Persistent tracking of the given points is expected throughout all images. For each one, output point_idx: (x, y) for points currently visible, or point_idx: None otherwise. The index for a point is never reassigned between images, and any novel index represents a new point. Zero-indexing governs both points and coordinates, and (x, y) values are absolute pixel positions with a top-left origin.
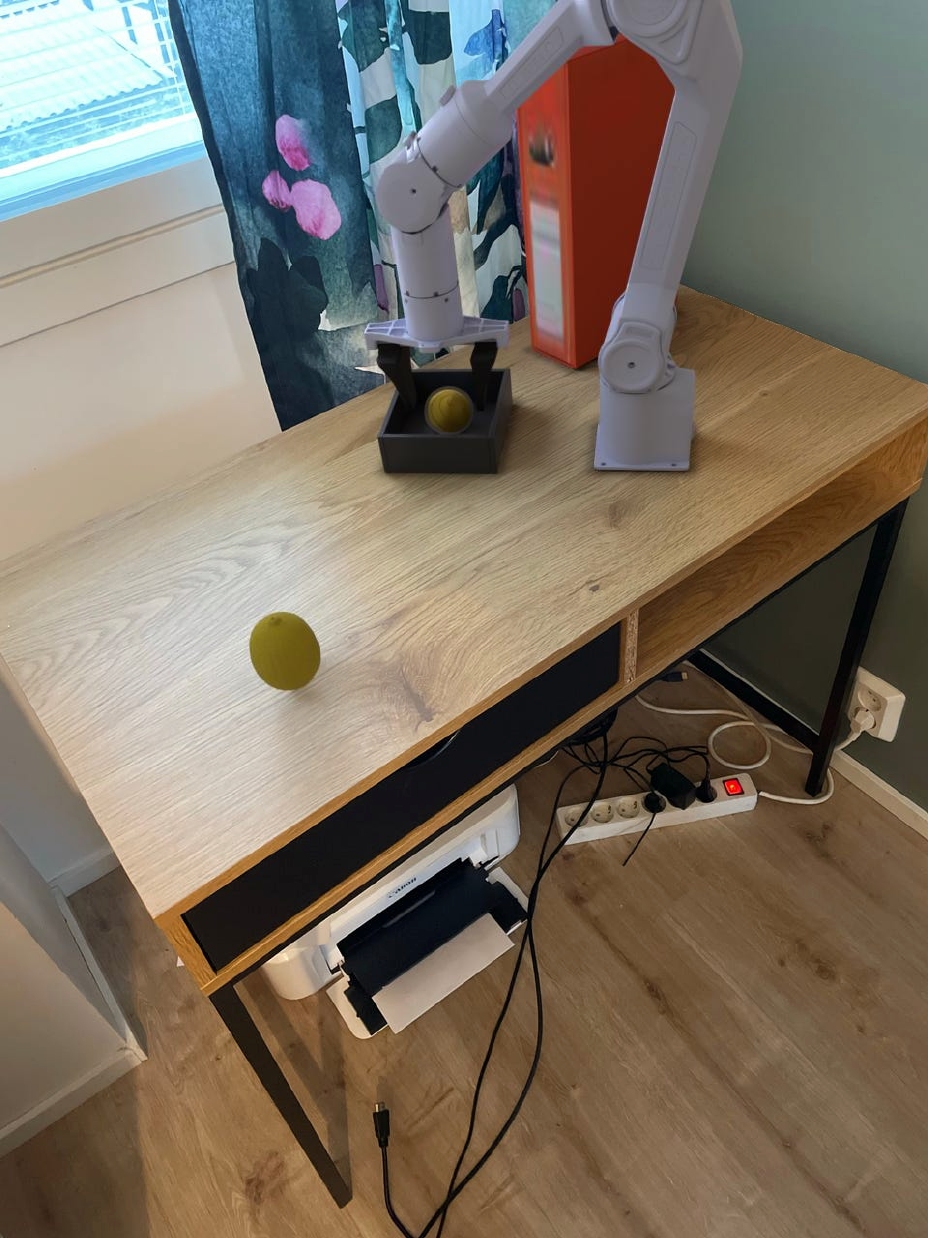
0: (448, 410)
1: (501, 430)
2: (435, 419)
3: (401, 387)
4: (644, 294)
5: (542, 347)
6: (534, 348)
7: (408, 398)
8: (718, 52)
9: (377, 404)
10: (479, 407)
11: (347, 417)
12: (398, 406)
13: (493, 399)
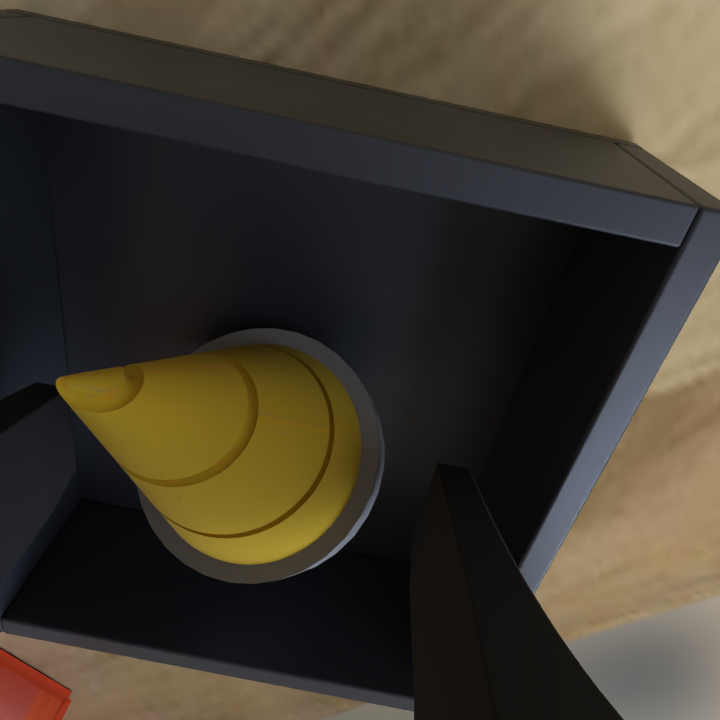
0: (178, 362)
1: None
2: (318, 392)
3: (501, 602)
4: None
5: (22, 692)
6: (62, 693)
7: (456, 523)
8: None
9: (573, 591)
10: (34, 395)
11: (707, 554)
12: (513, 523)
13: (125, 518)
